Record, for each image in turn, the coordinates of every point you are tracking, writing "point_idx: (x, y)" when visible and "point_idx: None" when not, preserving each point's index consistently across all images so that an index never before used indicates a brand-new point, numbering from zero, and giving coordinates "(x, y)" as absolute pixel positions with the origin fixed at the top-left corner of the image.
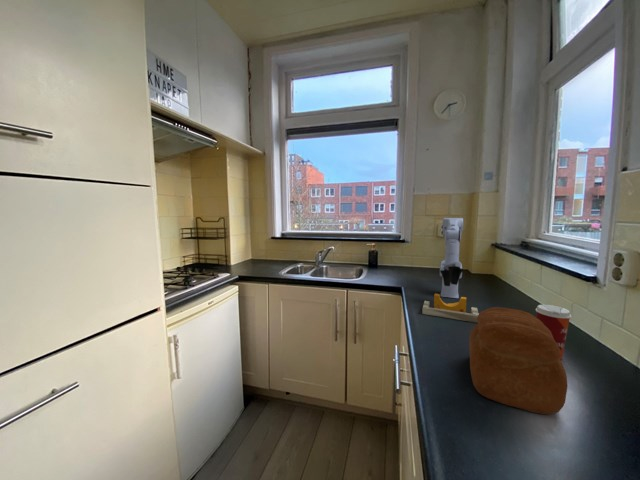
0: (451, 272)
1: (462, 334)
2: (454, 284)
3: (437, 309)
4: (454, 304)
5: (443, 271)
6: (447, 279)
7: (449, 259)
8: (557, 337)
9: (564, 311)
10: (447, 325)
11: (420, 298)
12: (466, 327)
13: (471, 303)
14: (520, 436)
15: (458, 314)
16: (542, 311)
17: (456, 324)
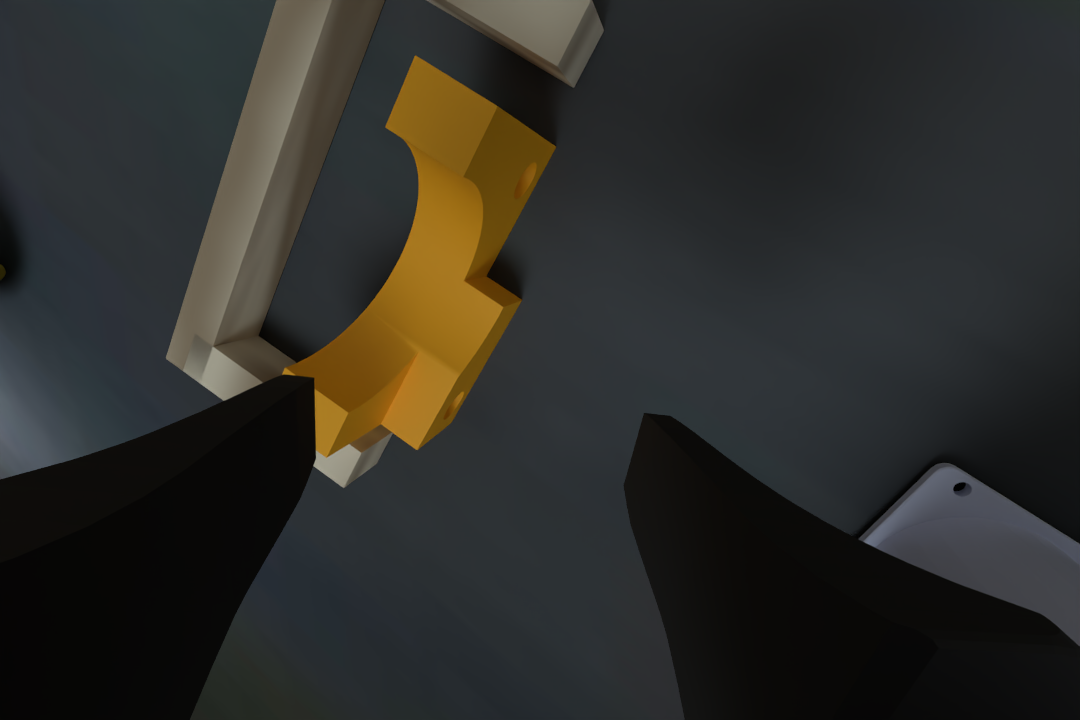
0: (10, 480)
1: (38, 92)
2: (311, 427)
3: (287, 38)
4: (425, 330)
5: (841, 654)
6: (680, 545)
7: None
8: None
9: None
10: (150, 53)
11: (939, 109)
12: (138, 196)
13: (627, 619)
14: None
15: (217, 218)
16: None
17: (175, 146)
